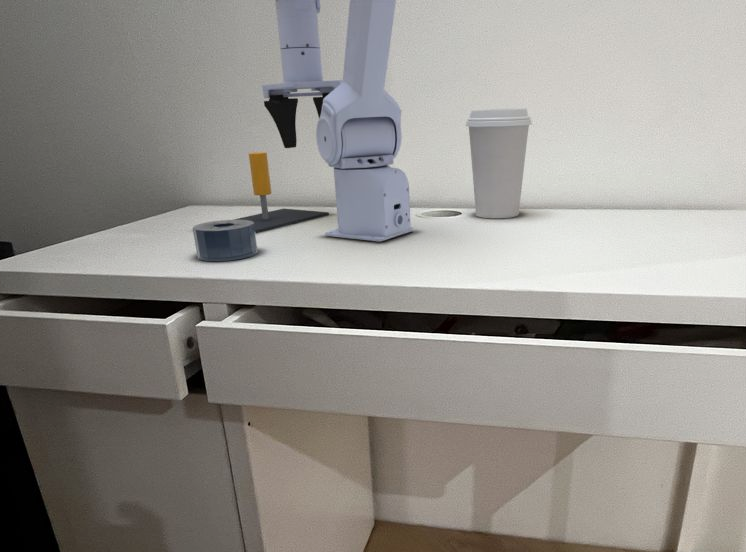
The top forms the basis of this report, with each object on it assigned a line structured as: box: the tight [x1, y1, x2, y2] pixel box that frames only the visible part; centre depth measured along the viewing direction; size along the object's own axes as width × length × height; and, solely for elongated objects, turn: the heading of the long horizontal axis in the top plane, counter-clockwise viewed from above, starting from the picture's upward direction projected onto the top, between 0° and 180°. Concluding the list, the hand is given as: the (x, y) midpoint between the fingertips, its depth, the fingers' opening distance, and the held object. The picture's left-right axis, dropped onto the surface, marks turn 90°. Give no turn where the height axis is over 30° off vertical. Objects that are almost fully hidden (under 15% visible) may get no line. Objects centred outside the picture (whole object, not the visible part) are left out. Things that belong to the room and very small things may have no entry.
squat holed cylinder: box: [192, 219, 258, 262], centre depth 75 cm, size 7×7×4 cm
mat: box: [233, 208, 330, 234], centre depth 95 cm, size 10×18×1 cm, turn 147°
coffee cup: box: [465, 108, 533, 219], centre depth 92 cm, size 10×10×15 cm
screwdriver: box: [248, 151, 272, 220], centre depth 94 cm, size 3×3×10 cm
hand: (309, 147), depth 95 cm, fingers open, 7 cm apart
